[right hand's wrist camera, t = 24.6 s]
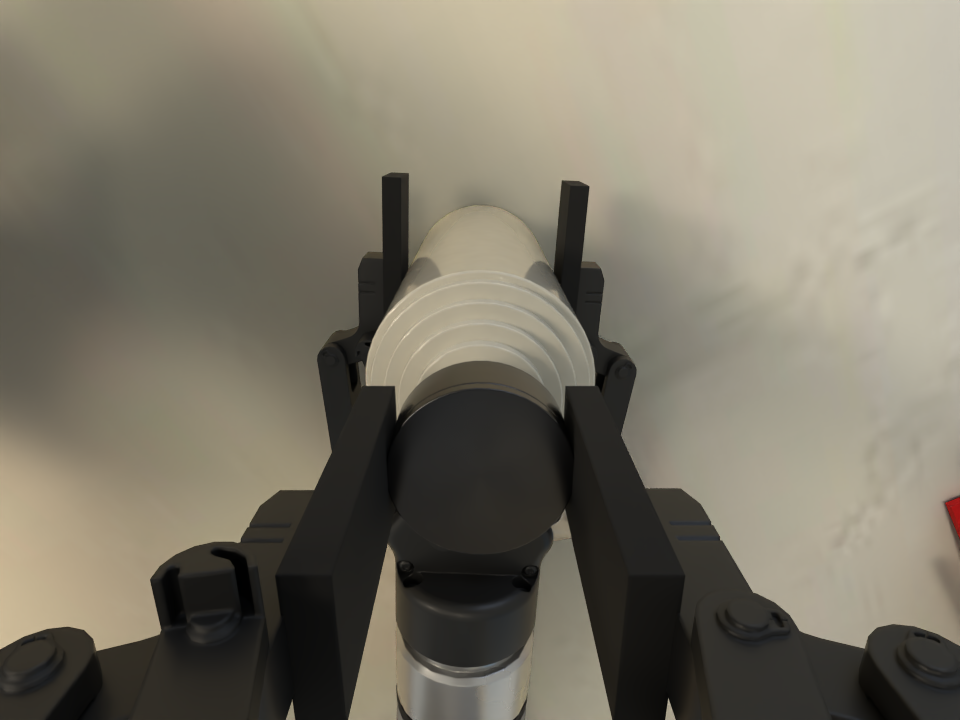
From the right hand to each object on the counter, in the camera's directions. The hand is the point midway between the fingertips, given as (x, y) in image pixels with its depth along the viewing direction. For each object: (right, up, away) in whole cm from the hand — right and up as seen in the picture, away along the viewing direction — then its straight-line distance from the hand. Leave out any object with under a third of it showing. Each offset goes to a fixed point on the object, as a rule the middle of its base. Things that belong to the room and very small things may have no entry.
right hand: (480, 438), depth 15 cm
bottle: (0, +7, +18) cm, 19 cm away
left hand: (0, +9, +11) cm, 14 cm away
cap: (0, 0, -1) cm, 1 cm away
